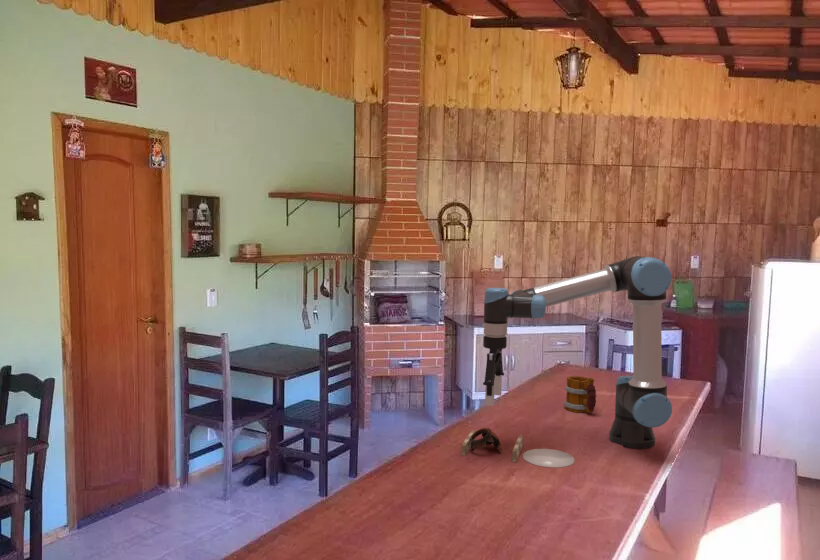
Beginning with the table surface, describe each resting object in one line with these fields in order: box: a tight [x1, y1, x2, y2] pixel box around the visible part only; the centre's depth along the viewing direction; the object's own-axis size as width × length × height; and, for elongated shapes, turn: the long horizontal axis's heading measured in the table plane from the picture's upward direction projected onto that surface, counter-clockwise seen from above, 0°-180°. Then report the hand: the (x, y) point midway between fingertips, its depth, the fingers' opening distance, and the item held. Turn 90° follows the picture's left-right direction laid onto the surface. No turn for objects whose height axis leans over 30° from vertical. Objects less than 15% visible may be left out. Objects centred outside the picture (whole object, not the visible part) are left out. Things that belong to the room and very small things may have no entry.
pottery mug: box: [470, 427, 503, 454], centre depth 206 cm, size 12×9×8 cm
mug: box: [563, 375, 597, 415], centre depth 253 cm, size 11×16×15 cm, turn 18°
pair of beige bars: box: [461, 429, 524, 463], centre depth 206 cm, size 16×17×4 cm
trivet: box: [522, 448, 575, 469], centre depth 200 cm, size 16×16×1 cm
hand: (493, 400), depth 205 cm, fingers open, 13 cm apart
